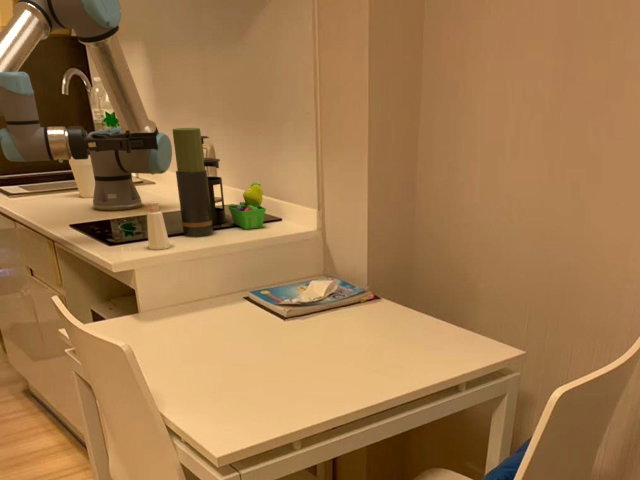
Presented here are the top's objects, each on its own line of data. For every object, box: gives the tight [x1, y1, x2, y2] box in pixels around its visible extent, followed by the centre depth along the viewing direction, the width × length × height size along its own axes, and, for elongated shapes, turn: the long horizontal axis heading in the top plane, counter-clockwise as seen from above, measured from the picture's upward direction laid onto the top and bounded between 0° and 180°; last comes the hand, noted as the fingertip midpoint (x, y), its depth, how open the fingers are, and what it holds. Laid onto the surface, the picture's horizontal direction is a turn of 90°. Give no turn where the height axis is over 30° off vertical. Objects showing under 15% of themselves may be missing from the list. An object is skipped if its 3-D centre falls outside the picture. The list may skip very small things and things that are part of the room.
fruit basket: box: [227, 182, 267, 230], centre depth 196 cm, size 11×9×11 cm
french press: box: [201, 135, 227, 226], centre depth 199 cm, size 12×9×23 cm
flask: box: [175, 169, 214, 238], centre depth 185 cm, size 8×8×20 cm
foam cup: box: [68, 154, 95, 198], centre depth 245 cm, size 10×9×13 cm
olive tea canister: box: [172, 127, 206, 173], centre depth 179 cm, size 7×7×10 cm
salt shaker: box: [146, 200, 171, 251], centre depth 173 cm, size 5×5×11 cm
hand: (157, 140), depth 177 cm, fingers open, 13 cm apart
